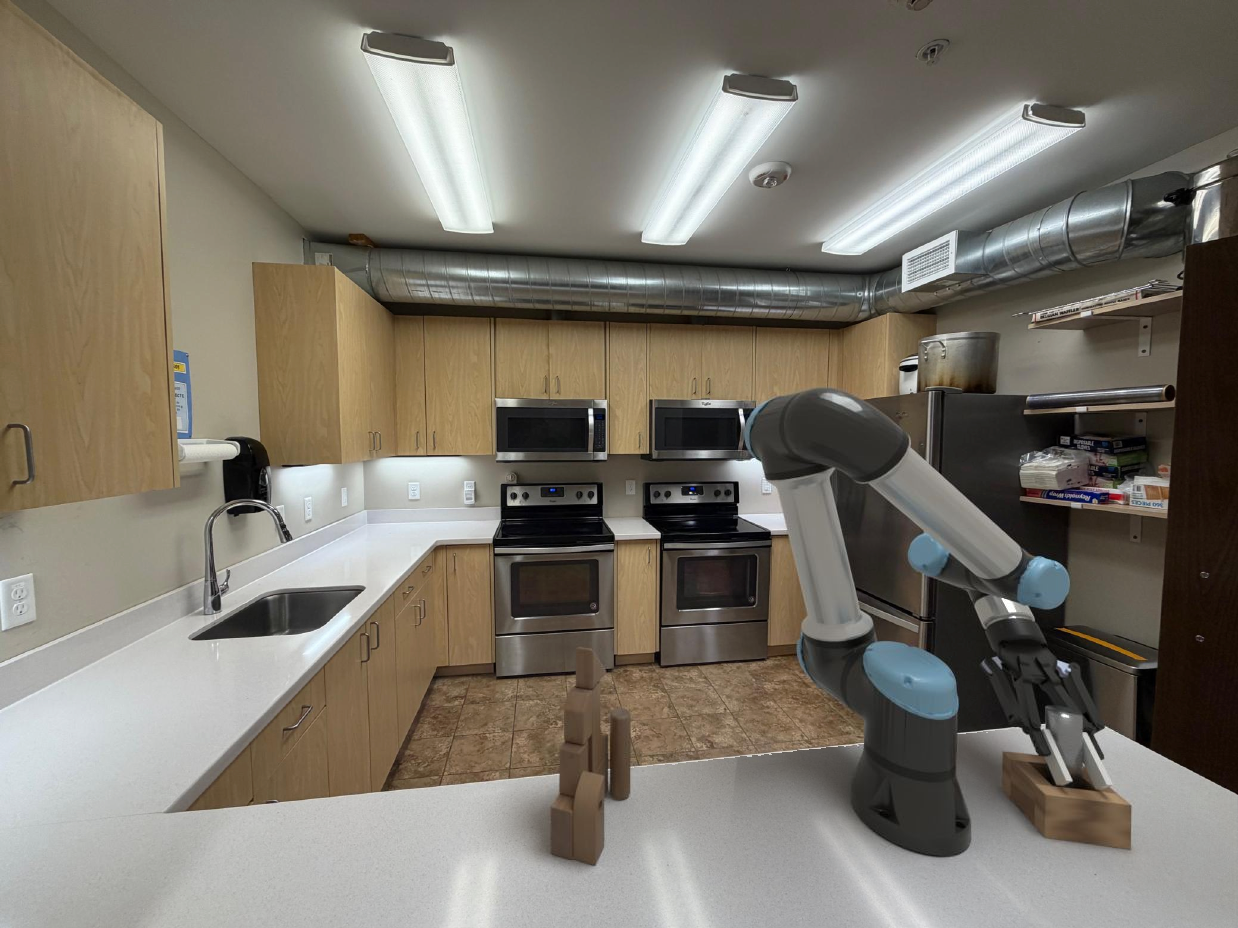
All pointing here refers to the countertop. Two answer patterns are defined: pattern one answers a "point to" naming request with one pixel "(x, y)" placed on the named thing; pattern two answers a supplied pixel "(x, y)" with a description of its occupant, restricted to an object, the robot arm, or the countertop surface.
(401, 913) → the countertop surface
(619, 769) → the wooden toy
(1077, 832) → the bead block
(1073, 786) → the silver metal peg
